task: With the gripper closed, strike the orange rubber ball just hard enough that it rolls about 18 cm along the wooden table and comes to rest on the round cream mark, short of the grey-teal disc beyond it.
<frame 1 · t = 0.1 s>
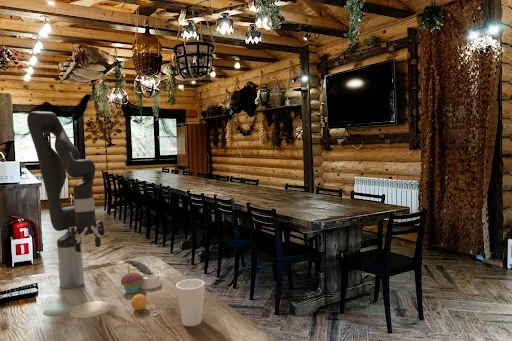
hand: (88, 249, 167), 17 cm above the table, tool pointing down, fingers open, 8 cm apart
inkwell: (141, 284, 175), on the table
cupcake: (132, 291, 168), on the table
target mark: (91, 309, 151), on the table
ball: (139, 302, 149), on the table
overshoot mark: (58, 309, 152), on the table
foam cup: (192, 322, 139), on the table
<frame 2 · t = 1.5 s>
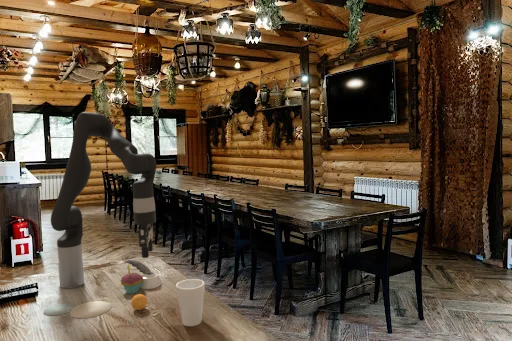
hand: (147, 254, 150), 19 cm above the table, tool pointing down, fingers open, 8 cm apart
nothing on the table moved.
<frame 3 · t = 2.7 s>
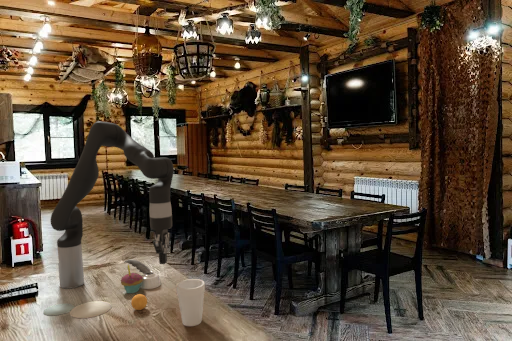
hand: (163, 263, 147), 17 cm above the table, tool pointing down, fingers closed
nothing on the table moved.
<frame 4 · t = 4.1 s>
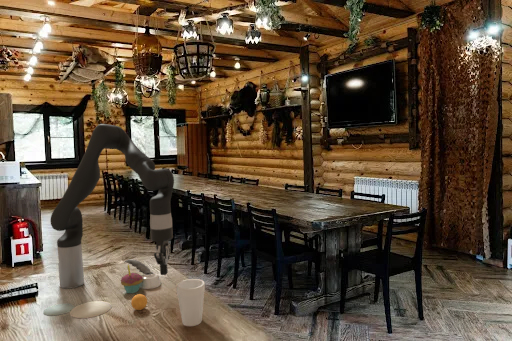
hand: (164, 274, 148), 13 cm above the table, tool pointing down, fingers closed
nothing on the table moved.
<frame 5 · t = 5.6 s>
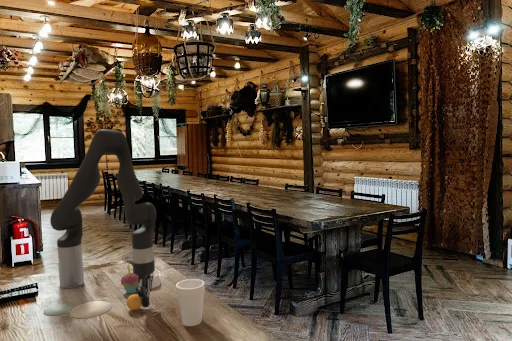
hand: (146, 306, 150), 1 cm above the table, tool pointing down, fingers closed
ball: (134, 302, 150), on the table
everything else where it was.
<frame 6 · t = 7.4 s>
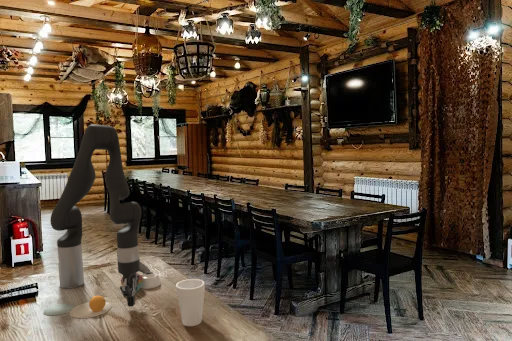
hand: (131, 305, 150), 2 cm above the table, tool pointing down, fingers closed
ball: (97, 303, 149), on the table
everything else where it was.
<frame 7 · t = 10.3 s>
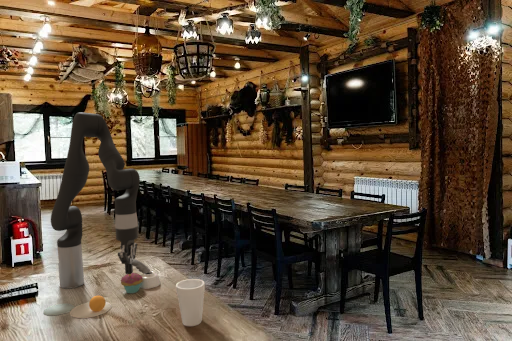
hand: (129, 273, 149), 13 cm above the table, tool pointing down, fingers closed
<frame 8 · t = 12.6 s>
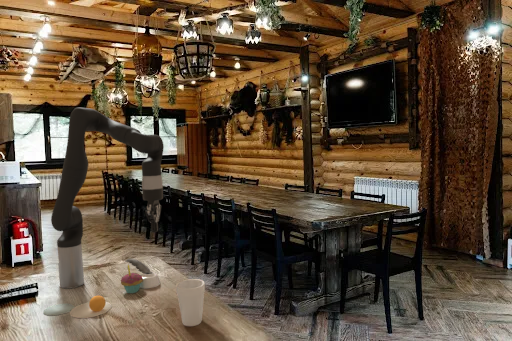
hand: (154, 231, 161), 25 cm above the table, tool pointing down, fingers closed
at the end: ball 3.3 cm from the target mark (horizontally); ball at rest at the end (0.0 cm/s); ball moved 15.0 cm from its start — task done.
